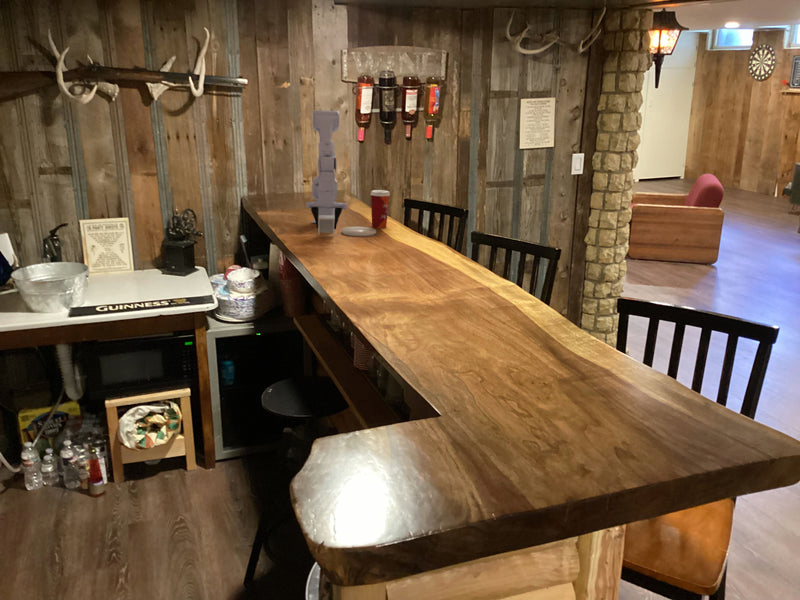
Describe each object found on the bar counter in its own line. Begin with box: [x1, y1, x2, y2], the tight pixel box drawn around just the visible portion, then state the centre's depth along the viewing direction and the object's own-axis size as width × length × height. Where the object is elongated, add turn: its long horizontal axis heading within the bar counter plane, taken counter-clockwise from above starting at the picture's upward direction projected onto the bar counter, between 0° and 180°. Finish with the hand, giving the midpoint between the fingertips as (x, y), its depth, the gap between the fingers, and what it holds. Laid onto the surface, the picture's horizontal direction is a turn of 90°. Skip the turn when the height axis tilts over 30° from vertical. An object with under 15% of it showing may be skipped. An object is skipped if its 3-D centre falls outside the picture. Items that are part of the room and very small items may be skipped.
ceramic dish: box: [341, 226, 377, 238], centre depth 261 cm, size 13×13×1 cm
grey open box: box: [317, 215, 336, 236], centre depth 250 cm, size 6×6×6 cm
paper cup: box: [370, 189, 391, 229], centre depth 271 cm, size 8×8×14 cm
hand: (326, 228), depth 251 cm, fingers closed on grey open box, 6 cm apart
